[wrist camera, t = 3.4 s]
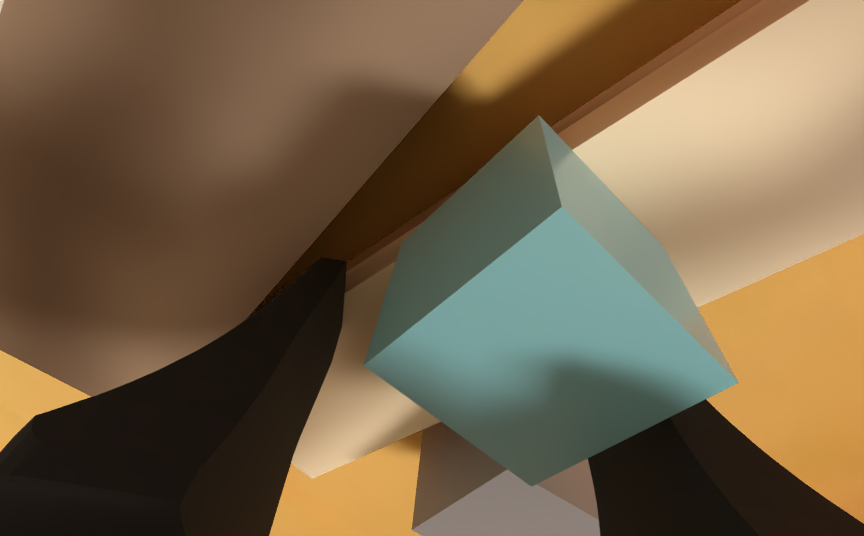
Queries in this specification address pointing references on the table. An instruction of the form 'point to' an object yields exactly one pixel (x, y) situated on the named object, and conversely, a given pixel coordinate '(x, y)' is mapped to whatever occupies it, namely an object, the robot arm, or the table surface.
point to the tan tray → (668, 184)
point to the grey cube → (496, 494)
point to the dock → (192, 158)
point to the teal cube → (542, 315)
